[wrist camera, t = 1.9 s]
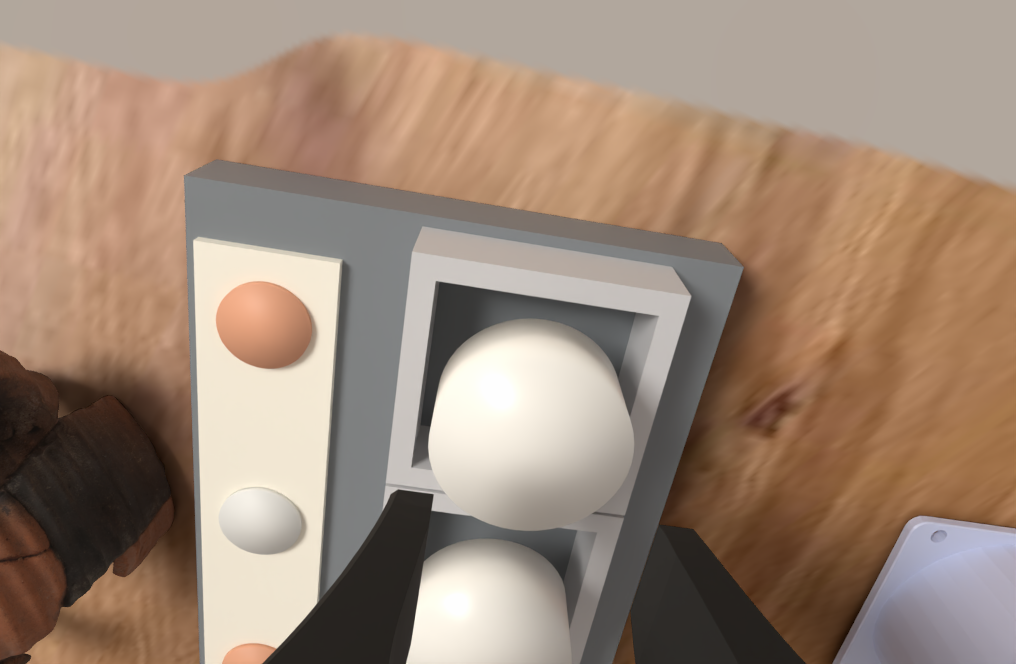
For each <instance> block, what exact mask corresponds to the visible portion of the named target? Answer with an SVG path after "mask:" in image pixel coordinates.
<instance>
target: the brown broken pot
mask: <svg viewBox="0 0 1016 664" xmlns="http://www.w3.org/2000/svg"><path fill="white" fill-rule="evenodd" d="M58 410H59V395H58V391H57V389H56V388H55V386H54V384H53V383H52V381H51V380H50V379H49V378H48V377H47V376H45V375H43V374H40V373H38V372H34V371H29V370H26V369H25V368H24V367H23V366H22V365H21V364H20V362H19V361H18V360H17V359H16V358H14V357H12V356H9V355H8V354H6V353H4V352H2V351H0V664H26V663H27V662H28V661H29V660H30V659H31V655H29V654H24V653H25V652H27V651H28V650H30V649H31V648H32V646H33V645H34V644H35V643H37V642H38V641H40V640H41V639H43V638H44V637H45V636H47V635H48V634H49V633H50V632H52V630H53V629H54V627H55V625H56V622H57V619H58V616H59V612H60V608H61V607H70V606H71V605H73V604H74V602H75V601H76V600H77V599H78V598H80V597H81V596H83V595H84V594H85V593H86V592H87V591H88V590H90V588H91V587H92V584H93V583H94V582H95V581H96V580H97V579H98V578H100V577H101V576H102V575H104V574H105V573H106V571H107V570H108V568H109V566H110V565H111V563H112V562H113V563H114V567H113V573H114V574H115V575H117V576H121V577H125V576H127V575H129V574H130V573H131V572H133V571H134V570H135V569H136V568H137V567H138V566H139V565H140V564H141V562H142V561H143V560H144V559H145V557H146V556H147V555H148V554H149V552H150V551H151V550H152V549H153V547H154V546H155V544H156V543H157V541H158V540H159V538H160V537H161V536H163V535H164V534H165V533H166V532H167V531H168V530H169V529H170V527H171V524H172V522H173V519H174V506H173V500H172V497H171V490H170V487H169V484H168V481H167V479H166V476H165V469H164V466H163V464H162V462H161V461H160V460H159V458H158V456H157V454H156V452H155V449H154V447H153V444H152V443H151V441H150V440H149V439H148V437H147V435H146V433H145V432H144V430H143V429H142V428H141V427H140V426H139V425H138V424H137V423H136V421H135V420H134V418H133V417H132V416H131V414H130V413H129V412H128V411H127V410H126V409H125V408H124V407H123V406H122V404H121V403H120V402H119V401H118V400H117V399H116V398H115V397H113V396H105V397H103V398H101V399H99V400H97V401H96V402H94V403H93V404H92V405H90V406H89V407H87V408H85V409H78V410H76V411H74V412H73V413H71V414H69V415H67V416H63V417H60V418H58Z"/></svg>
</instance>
